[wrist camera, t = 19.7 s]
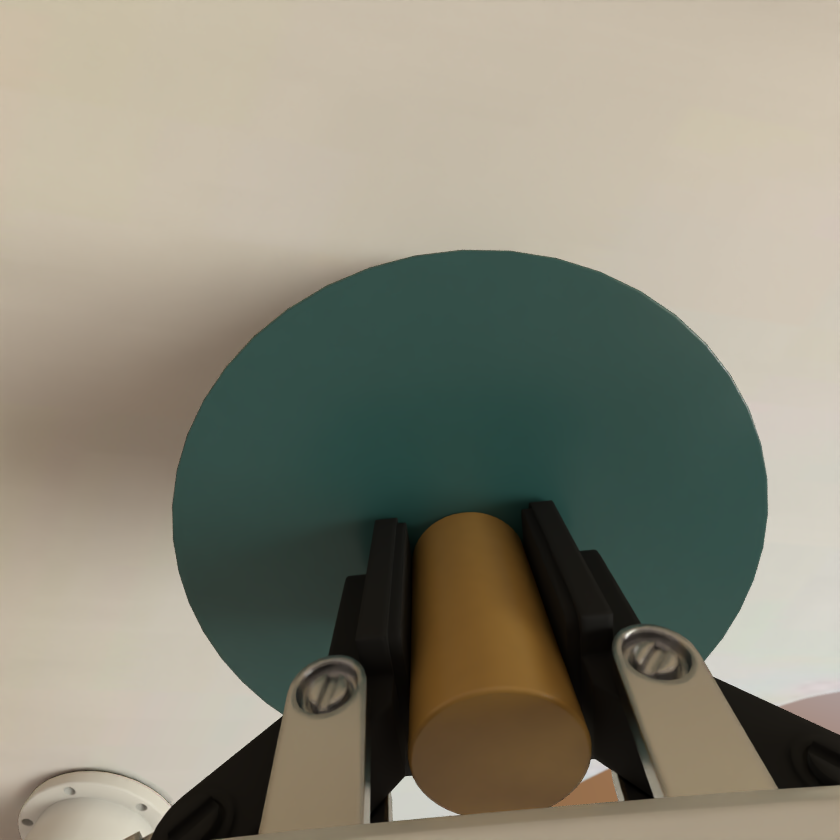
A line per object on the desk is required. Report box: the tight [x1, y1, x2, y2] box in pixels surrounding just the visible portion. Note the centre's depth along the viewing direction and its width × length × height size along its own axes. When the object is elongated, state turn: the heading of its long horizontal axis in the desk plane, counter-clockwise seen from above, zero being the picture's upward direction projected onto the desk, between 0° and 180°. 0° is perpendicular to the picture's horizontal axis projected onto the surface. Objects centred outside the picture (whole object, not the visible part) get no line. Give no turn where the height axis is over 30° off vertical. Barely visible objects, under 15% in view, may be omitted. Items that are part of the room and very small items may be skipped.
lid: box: [172, 250, 768, 815], centre depth 10 cm, size 15×15×6 cm
